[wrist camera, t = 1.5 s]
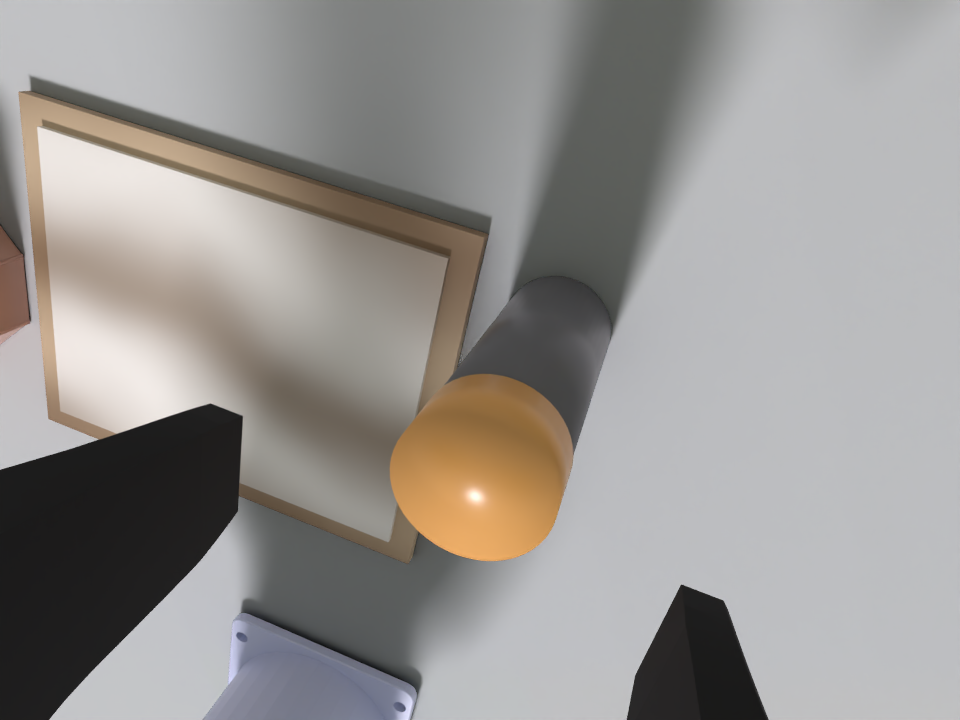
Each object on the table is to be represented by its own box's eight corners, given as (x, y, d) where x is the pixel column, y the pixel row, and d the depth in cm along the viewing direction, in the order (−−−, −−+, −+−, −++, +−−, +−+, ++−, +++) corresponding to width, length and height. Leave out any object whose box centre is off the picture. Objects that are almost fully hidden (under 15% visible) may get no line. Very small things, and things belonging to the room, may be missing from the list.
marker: (593, 393, 19) (532, 585, 12) (491, 358, 20) (378, 523, 13) (628, 294, 18) (580, 449, 11) (517, 260, 18) (405, 386, 12)
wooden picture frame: (412, 557, 24) (405, 568, 23) (57, 414, 26) (44, 421, 26) (488, 234, 18) (482, 239, 18) (29, 90, 21) (12, 92, 20)
